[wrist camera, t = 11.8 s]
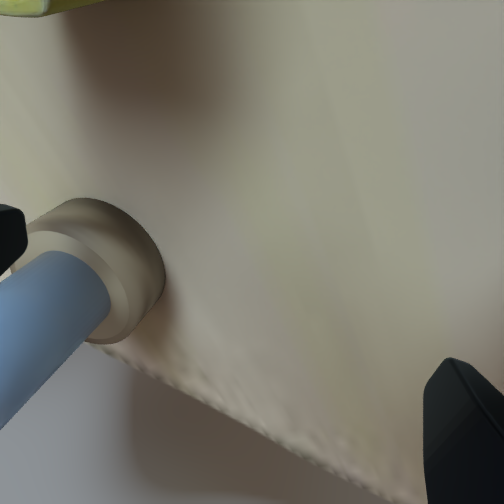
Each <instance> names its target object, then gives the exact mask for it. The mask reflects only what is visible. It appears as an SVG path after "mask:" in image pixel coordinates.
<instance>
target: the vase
mask: <svg viewBox="0 0 504 504" xmlns="http://www.w3.org/2000/svg"><path fill="white" fill-rule="evenodd" d="M110 308H111V301H110V296H109V293H108V290H107V288H106V286H105V284H104V283H103V281H102V280H101V278H100V277H99V276H98V274H97V273H96V272H95V271H94V270H93V269H92V268H91V267H90V266H88V265H87V264H86V263H85V262H83V261H82V260H80V259H79V258H77V257H75V256H73V255H71V254H68V253H65V252H62V251H54V250H53V251H46V252H44V253H42V254H40V255H39V256H37V257H36V258H34V259H33V260H31V261H30V262H29V263H27V264H26V265H24V266H23V267H21V268H20V269H19V270H17V271H16V272H14V273H13V274H11V275H10V276H9V277H7V278H6V279H4V280H3V281H1V282H0V430H1V429H2V428H3V427H4V426H5V425H6V424H7V422H8V421H9V420H10V419H11V418H12V417H13V416H14V415H15V414H16V413H17V412H18V411H19V410H20V409H21V408H22V407H23V406H24V404H25V403H26V402H27V401H28V400H29V399H30V398H31V397H32V396H33V395H34V394H35V393H36V392H37V391H38V390H39V389H40V387H41V386H42V385H43V384H44V383H45V382H46V381H47V380H48V379H49V378H50V377H51V376H52V375H53V374H54V372H55V371H56V370H57V369H58V368H59V367H60V366H61V365H62V364H63V363H64V362H65V361H66V360H67V359H68V358H69V356H70V355H72V353H73V352H74V351H75V350H76V349H77V348H78V347H79V346H80V345H81V344H82V343H83V342H84V341H85V340H86V339H87V337H88V336H89V335H90V334H91V333H92V332H93V331H94V330H95V329H96V328H97V327H98V326H99V325H100V324H101V323H102V322H103V320H104V319H105V318H106V317H107V316H108V314H109V312H110Z"/></svg>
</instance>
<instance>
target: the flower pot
mask: <svg viewBox="0 0 504 504" xmlns="http://www.w3.org/2000/svg"><path fill="white" fill-rule="evenodd" d="M101 1H104V0H0V15H4V16H14V17H34V18H35V17H43V16H47V15H51V14H55V13H59V12H63V11H67V10H71V9H75V8H78V7H82V6H86V5H90V4H94V3H97V2H101Z"/></svg>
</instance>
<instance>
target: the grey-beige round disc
mask: <svg viewBox="0 0 504 504" xmlns="http://www.w3.org/2000/svg"><path fill="white" fill-rule="evenodd" d="M26 229H27V235H28V246H27V249H26V251H25V252H24V254H23V255H22V256H21V257H20V258H19V259H18V260H17V261H16V262H15V263H14V264H13V265H11V266H10V269H11V273H12V274H13V273H14V272H16V271H17V270H19V269H20V268H21V267H23V266H24V265H26V264H27V263H29V262H30V261H31V260H33V259H34V258H36V257H37V256H39V255H40V254H42V253H44V252H46V251H53V250H54V251H62V252H65V253H68V254H71V255H73V256H75V257H77V258H79V259H80V260H82V261H83V262H85V263H86V264H87V265H88V266H90V267H91V268H92V269H93V270H94V271H95V272H96V273H97V274H98V276H99V277H100V278H101V280H102V281H103V283H104V284H105V286H106V288H107V290H108V293H109V296H110V301H111V308H110V312H109V314H108V316H107V317H106V318H105V319H104V320H103V322H102V323H101V324H100V325H99V326H98V327H97V328H96V329H95V330H94V331H93V332H92V333H91V334H90V335H89V336H88V337H87V339H86V340H85V342H89V343H94V344H113V343H116V342H119V341H121V340H123V339H125V338H126V337H127V336H128V335H129V334H130V333H131V332H132V331H133V329H134V328H135V327H136V326H137V324H138V323H139V322H140V321H141V320H142V318H143V317H144V316H145V315H146V314H147V312H148V311H149V310H150V309H151V307H152V306H153V305H154V304H155V303H156V301H157V300H158V299H159V298H160V296H161V294H162V292H163V289H164V284H165V271H164V265H163V262H162V258H161V256H160V253H159V251H158V249H157V247H156V245H155V244H154V242H153V241H152V239H151V238H150V236H149V235H148V234H147V232H146V231H145V230H144V229H143V228H142V227H141V226H140V225H139V224H138V223H137V222H136V221H135V220H134V219H133V218H132V217H130V216H129V215H128V214H126V213H125V212H123V211H122V210H120V209H119V208H117V207H115V206H113V205H111V204H108V203H106V202H104V201H100V200H97V199H91V198H76V199H71V200H68V201H66V202H64V203H63V204H61V205H59V206H57V207H56V208H54V209H52V210H51V211H49V212H47V213H46V214H44V215H42V216H41V217H39V218H37V219H36V220H34V221H32V222H31V223H29V224H27V225H26Z"/></svg>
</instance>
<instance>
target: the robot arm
mask: <svg viewBox="0 0 504 504" xmlns="http://www.w3.org/2000/svg"><path fill="white" fill-rule="evenodd" d="M27 246H28V235H27V229H26V222H25V216H24V214H23V212H22V211H21V210H20V209H17V208H14V207H11V206H9V205H5V204H0V276H1V275H2V274H3V273H4V272H5V271H6V270H7V269H8V268H9V267H10V266H11V265H13V264H14V263H15V262H16V261H17V260H18V259H19V258H20V257H21V256H22V255H23V254H24V252H25V251H26V249H27ZM423 462H424V474H425V483H426V491H427V499H428V504H504V396H503V395H502V394H501V393H500V392H499V391H498V390H497V389H496V388H495V387H494V386H493V385H492V384H491V383H490V382H489V381H488V380H487V379H486V378H484V377H483V376H482V375H481V374H480V373H479V372H478V371H477V370H476V369H475V368H474V367H473V366H472V365H470V364H469V363H466V362H464V361H461V360H458V359H455V358H451V357H449V358H446V359H445V360H444V361H443V362H442V363H441V364H440V366H439V367H438V368H437V370H436V371H435V372H434V374H433V375H432V376H431V378H430V379H429V380H428V382H427V384H426V386H425V389H424V394H423Z"/></svg>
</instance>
